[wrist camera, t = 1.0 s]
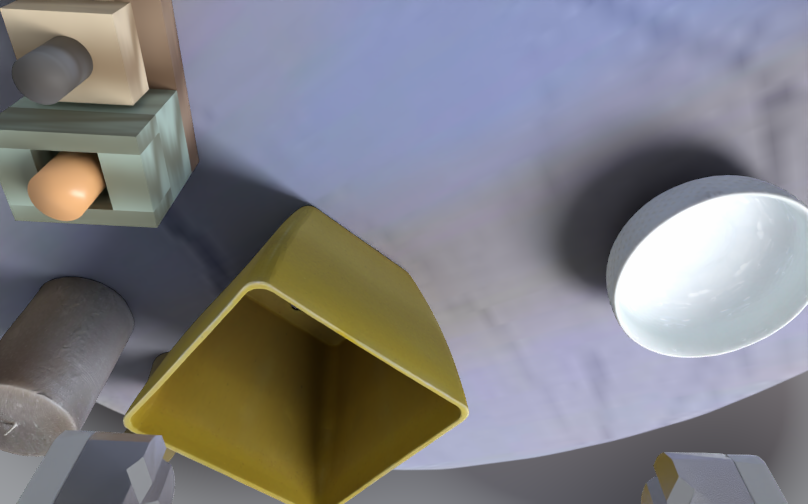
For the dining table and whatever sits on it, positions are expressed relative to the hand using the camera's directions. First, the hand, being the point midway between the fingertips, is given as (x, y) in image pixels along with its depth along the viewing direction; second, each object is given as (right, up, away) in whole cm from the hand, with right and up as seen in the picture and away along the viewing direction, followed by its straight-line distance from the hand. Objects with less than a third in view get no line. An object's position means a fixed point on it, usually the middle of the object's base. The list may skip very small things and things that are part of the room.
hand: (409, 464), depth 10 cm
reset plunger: (-22, +9, +32) cm, 40 cm away
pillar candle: (-32, -3, +51) cm, 61 cm away
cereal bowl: (+25, +5, +44) cm, 51 cm away
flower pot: (-8, +1, +48) cm, 49 cm away
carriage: (-22, +19, +33) cm, 44 cm away
